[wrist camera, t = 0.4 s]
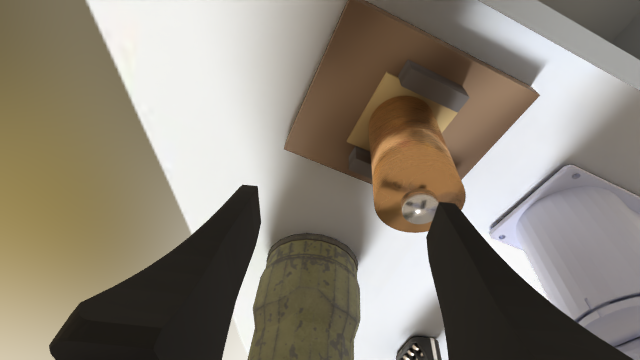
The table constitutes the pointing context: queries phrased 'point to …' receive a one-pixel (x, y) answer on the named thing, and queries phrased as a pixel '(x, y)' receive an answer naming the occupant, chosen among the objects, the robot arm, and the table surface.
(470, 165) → the brown stand base
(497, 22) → the table surface
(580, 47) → the tray
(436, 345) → the battery charger
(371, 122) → the cell
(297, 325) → the thermos
